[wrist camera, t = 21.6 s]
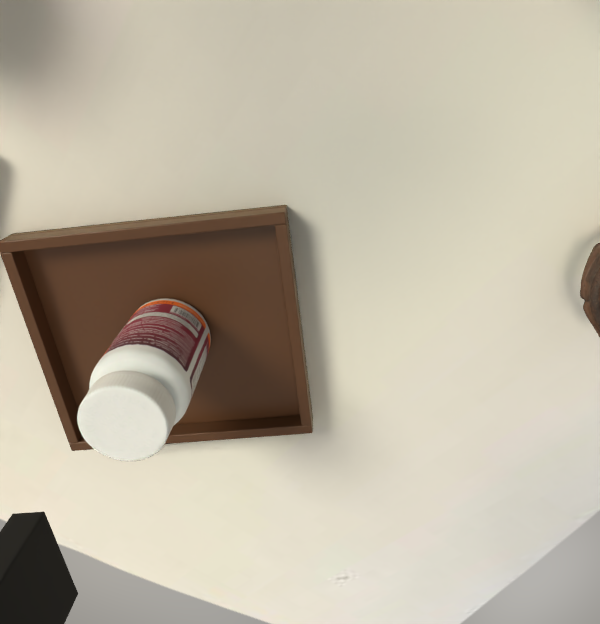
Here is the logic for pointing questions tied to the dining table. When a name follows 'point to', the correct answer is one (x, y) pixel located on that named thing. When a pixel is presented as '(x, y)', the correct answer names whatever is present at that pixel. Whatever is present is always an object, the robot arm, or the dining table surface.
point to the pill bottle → (145, 380)
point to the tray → (180, 286)
